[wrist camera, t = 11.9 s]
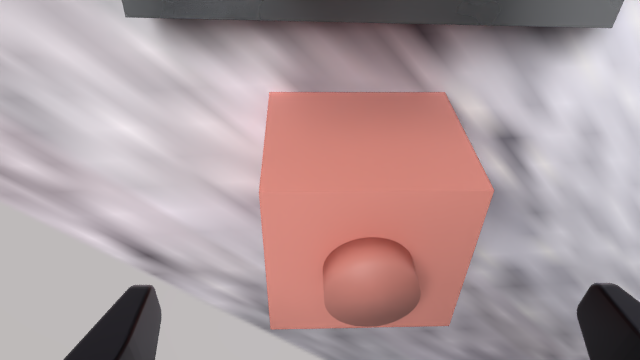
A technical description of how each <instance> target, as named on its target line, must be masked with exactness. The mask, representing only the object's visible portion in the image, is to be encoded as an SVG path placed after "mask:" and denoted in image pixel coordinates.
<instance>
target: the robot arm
mask: <svg viewBox="0 0 640 360" xmlns="http://www.w3.org/2000/svg"><path fill="white" fill-rule="evenodd" d="M577 317H578V321H579V324H580V328H581V331H582V334H583V338H584V341H585V344H586V348H587V351H588V354H589V357H590V360H640V302H639V301H637V300H636V299H635V298H633V297H632V296H631V295H629V294H628V293H627V292H626V291H624V290H623V289H622V288H620V287H619V286H617V285H615V284H612V283H595V284H593V285H591V286H590V288H589V289H588V291H587V292H586V294H585V295H584V297H583V299H582V300H581V302H580V303H579V305H578V308H577ZM160 324H161V308H160V305H159V301H158V298H157V295H156V291H155V289H154V287H153V286H152V285H133V286H131V287H130V288H129V289H128V290H127V291H126V292H125V293H124V294H123V295H122V296H121V297H120V299H118V300H117V302H116V303H115V304H114V305H113V306H112V307H111V308H110V309H109V310H108V311H107V313H106V314H105V315H104V316H103V317H102V318H101V319H100V320H99V321H98V322H97V324H96V325H95V326H94V327H93V328H92V329H91V330H90V331H89V332H88V334H87V335H86V336H85V337H84V338H83V339H82V340H81V341H80V342H79V343H78V344H77V345H76V347H75V348H74V349H73V350H72V351H71V352H70V353H69V354H68V355H67V356H66V357H65V359H64V360H155V355H156V349H157V343H158V336H159V330H160Z"/></svg>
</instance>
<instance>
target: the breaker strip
mask: <svg viewBox="0 0 640 360" xmlns="http://www.w3.org/2000/svg"><path fill="white" fill-rule="evenodd" d="M623 1H624V0H122V3H123V8H124V12H125V17H137V18H182V19H227V20H272V21H317V22H361V23H406V24H451V25H496V26H541V27H586V28H612V27H613V24H614V22H615V20H616V17H617V15H618V13H619V10H620V8H621V6H622V4H623Z"/></svg>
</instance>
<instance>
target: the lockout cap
mask: <svg viewBox="0 0 640 360" xmlns="http://www.w3.org/2000/svg"><path fill="white" fill-rule="evenodd" d="M493 192H494V189H493V187H492V185H491V183H490V181H489V179H488V177H487V175H486V173H485V171H484V169H483V167H482V165H481V163H480V161H479V159H478V157H477V155H476V153H475V151H474V149H473V147H472V145H471V143H470V141H469V139H468V137H467V135H466V133H465V131H464V129H463V127H462V125H461V123H460V122H459V120H458V118H457V116H456V114H455V112H454V110H453V108H452V106H451V104H450V102H449V100H448V98H447V96H446V94H445V92H269V102H268V111H267V121H266V130H265V140H264V149H263V159H262V168H261V178H260V187H259V198H260V210H261V222H262V234H263V245H264V257H265V269H266V281H267V292H268V304H269V316H270V328H271V329H317V328H368V327H420V326H449V324H450V321H451V318H452V315H453V312H454V309H455V306H456V303H457V300H458V297H459V294H460V291H461V288H462V285H463V282H464V279H465V276H466V273H467V270H468V267H469V264H470V261H471V258H472V255H473V252H474V249H475V246H476V243H477V240H478V237H479V234H480V231H481V228H482V225H483V222H484V219H485V216H486V213H487V210H488V207H489V204H490V201H491V198H492V195H493Z"/></svg>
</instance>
